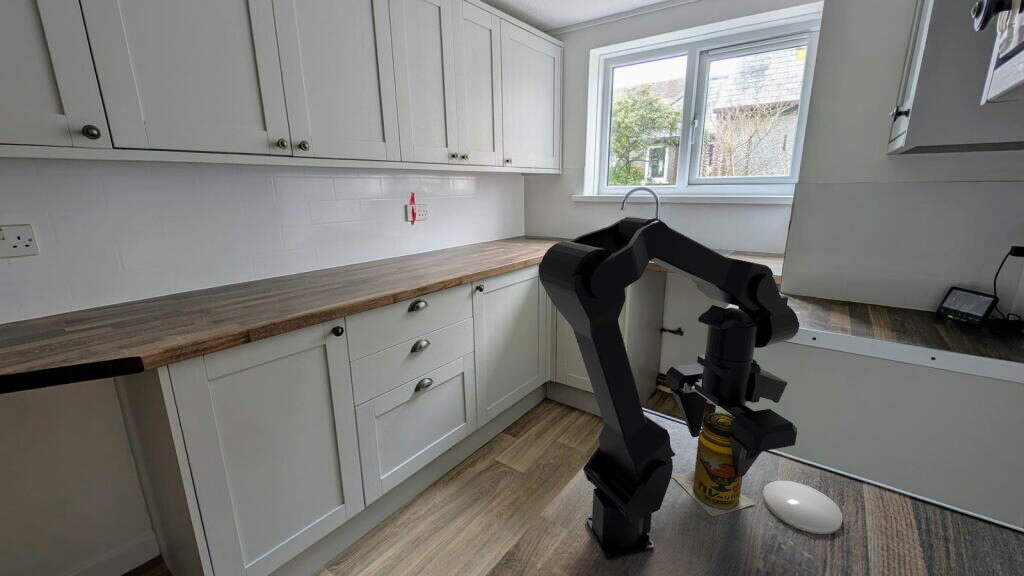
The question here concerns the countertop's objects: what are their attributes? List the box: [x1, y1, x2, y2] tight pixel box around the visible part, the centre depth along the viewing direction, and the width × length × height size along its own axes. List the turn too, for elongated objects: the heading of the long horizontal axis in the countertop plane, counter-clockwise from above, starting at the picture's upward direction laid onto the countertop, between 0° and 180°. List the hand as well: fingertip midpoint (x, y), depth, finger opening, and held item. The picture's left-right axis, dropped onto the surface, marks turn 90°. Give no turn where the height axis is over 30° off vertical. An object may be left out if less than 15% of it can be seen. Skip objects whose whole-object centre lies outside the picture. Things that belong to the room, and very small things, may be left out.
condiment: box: [671, 412, 756, 517], centre depth 61 cm, size 7×8×12 cm
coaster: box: [762, 480, 843, 535], centre depth 59 cm, size 9×9×1 cm
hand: (715, 454), depth 61 cm, fingers open, 9 cm apart
